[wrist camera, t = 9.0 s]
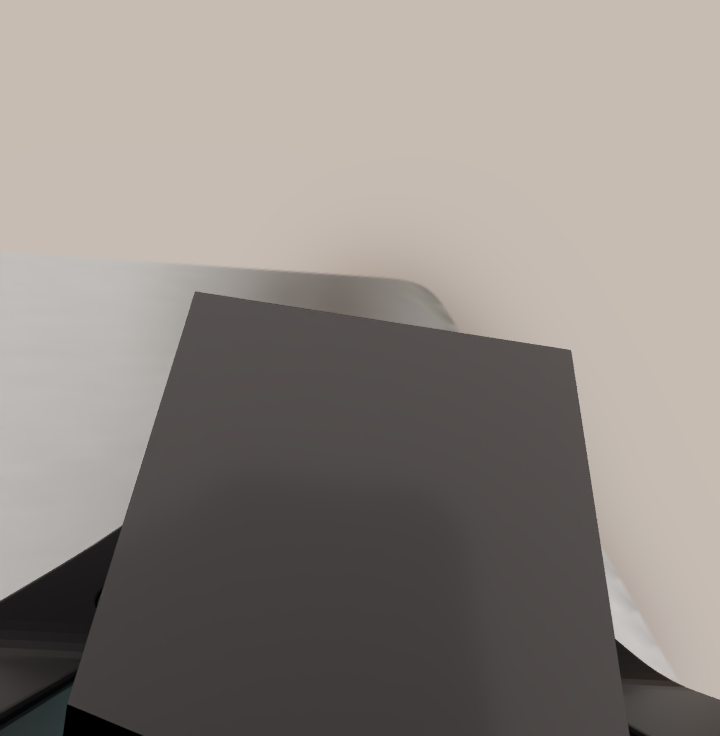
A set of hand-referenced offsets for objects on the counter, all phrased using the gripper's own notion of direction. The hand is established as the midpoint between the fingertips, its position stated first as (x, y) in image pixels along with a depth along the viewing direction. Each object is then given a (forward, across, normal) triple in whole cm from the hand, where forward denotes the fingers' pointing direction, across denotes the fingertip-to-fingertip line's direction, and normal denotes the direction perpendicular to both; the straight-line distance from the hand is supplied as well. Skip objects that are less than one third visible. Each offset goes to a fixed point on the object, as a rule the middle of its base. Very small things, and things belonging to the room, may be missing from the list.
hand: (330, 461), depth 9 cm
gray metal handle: (+4, 0, +6) cm, 7 cm away
